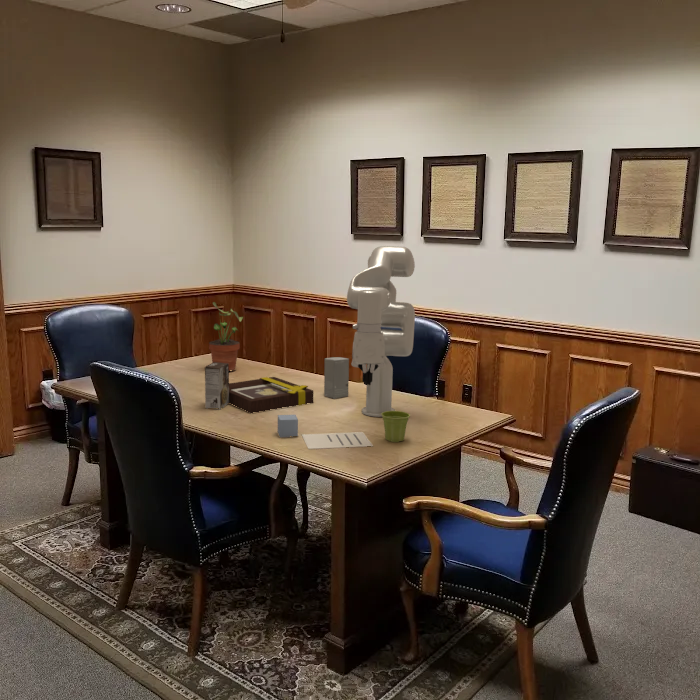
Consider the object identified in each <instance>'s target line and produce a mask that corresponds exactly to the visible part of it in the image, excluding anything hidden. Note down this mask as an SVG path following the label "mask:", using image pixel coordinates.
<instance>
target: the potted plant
mask: <svg viewBox="0 0 700 700" xmlns="http://www.w3.org/2000/svg"><path fill="white" fill-rule="evenodd" d="M212 305H213V306H214V307H215V308H216V309H218V315H219V317H220V316H224V317H226V316H231V317H233V315H235V317H236V318H237V320H238V321H239V322H240V323H241V322H242V320H243V318H244V316H239V314H238V312H237V311H234V310H233V309H232V308H230V310H229V311H224V310H222V309H220V308H219V307H218V305H217V302H215V301H213V302H212ZM219 321H220V323H219V324H218V323H214V325H213V329H214V330H215V331H218V336H219V338H218V339H215V340H212V341H209V342H208V349H209V350H210V353H211V361H212V362H211V363H213V362H220V363H229V371H230V370H234V371H236V368H237V359H238V351H239V350H240V349H241V347H240V343H241V342H240V341H236V340H234V339H232V338H231V336H232V334H236V331H239V330H238V328H237V327H236V326H233V327H231V331H230V332H229V334H228V331H229V327H230V323H231V320H230V321H229V324H228V322H226V321H224V322H222V321H221V320H219ZM227 325H228V326H227ZM219 331H221V332H219ZM220 334H221V335H220ZM230 338H231V339H230Z"/></svg>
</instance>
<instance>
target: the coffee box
mask: <svg viewBox="0 0 700 700" xmlns="http://www.w3.org/2000/svg"><path fill="white" fill-rule="evenodd" d="M229 376H230V373H229V363H220V362H213V363H212V362H211V363H209V364H207V365H206V366H204V386H205V387H204V392H205V393H204V394H205V396H204V397H205V398H204V399H205V403H204V404H205V405H204V406H205V409H208V408H219V409H218V410H222V409H223V408H225V407H226V406H227V404H228V403H229V383H230V379H229V378H230V377H229ZM225 405H226V406H225ZM228 405H229V404H228ZM224 406H225V407H224ZM222 407H223V408H222ZM221 408H222V409H221Z"/></svg>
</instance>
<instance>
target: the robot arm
mask: <svg viewBox="0 0 700 700" xmlns="http://www.w3.org/2000/svg"><path fill="white" fill-rule="evenodd" d="M415 267H416V265H415V258H414V255H413V253H412V251H411V249H409V248H407V247H405V246H390V245H389V246H388V245H387V246H386V245H383V246H382V245H381V246H378V247H376V248H374V249H373V250H372V252H371V253H370V255H369V256H368V260H367V268H366V269H363V270H362V271H360V272H359V273H357V274H356V275H354V276H353V277H352V279H351V280H350V282H349V286H348V290H347V294H346V303H347V305H348V307H349V308H351V309H353V310H354V309H355V310H357V322H356V324H353V325H352V330H356V331H355V332H354V336H353V340H352V341H353V342H352V351H351V352H352V354H351V358H352V360H351V366H352V367H354V368H358V369H359V370H361V372H362V383H364V385H365V386H366V394H365V396H366V398H365V399H366V400H365V406H364V407H361V413H362V414H363V415H365V416H369V417H374V418H375V417H376V418H383V417H382V415H381V413H383V412H386V411H396V409H395V408H393V407H392V404H393V403H392V399H393V398H392V396H393V374H394V373H393V372H394V371H393V369H394V368H393V365H392V363H391V361H390V359H389V358H388V357H389V356H391V357H392V356H393V357H409V356H411V354H412V353H413V350H414V349H413V348H414V337H415V324H416V323H415V320H416V318H415V317H416V313H415V311H416V310H415V307H414V306H413V305H412V303H409V302H400V301H399V302H398V301H397V288H396V287H395V285H394V284H393V282H392V281H391V278H392V277H394V278H409V277H411V276H412V275H413V273H414V272H415ZM383 328H384V329H383ZM385 328H391V329H385ZM392 328H395V329H392ZM398 329H399V330H398ZM400 329H401V330H400Z"/></svg>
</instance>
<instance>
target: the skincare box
mask: <svg viewBox="0 0 700 700" xmlns="http://www.w3.org/2000/svg"><path fill="white" fill-rule="evenodd" d="M349 363H350V358H347V357H341V356H338V357H334V356H332V357H326V358H324V372H323V373H324V377H323V378H324V379H323V385H324V387H323V388H324V389H323V395H324V396H325V397H327V398H331V399H334V400H335V399H342V398H345V397H349V378H350V377H349V373H350V364H349Z"/></svg>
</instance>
